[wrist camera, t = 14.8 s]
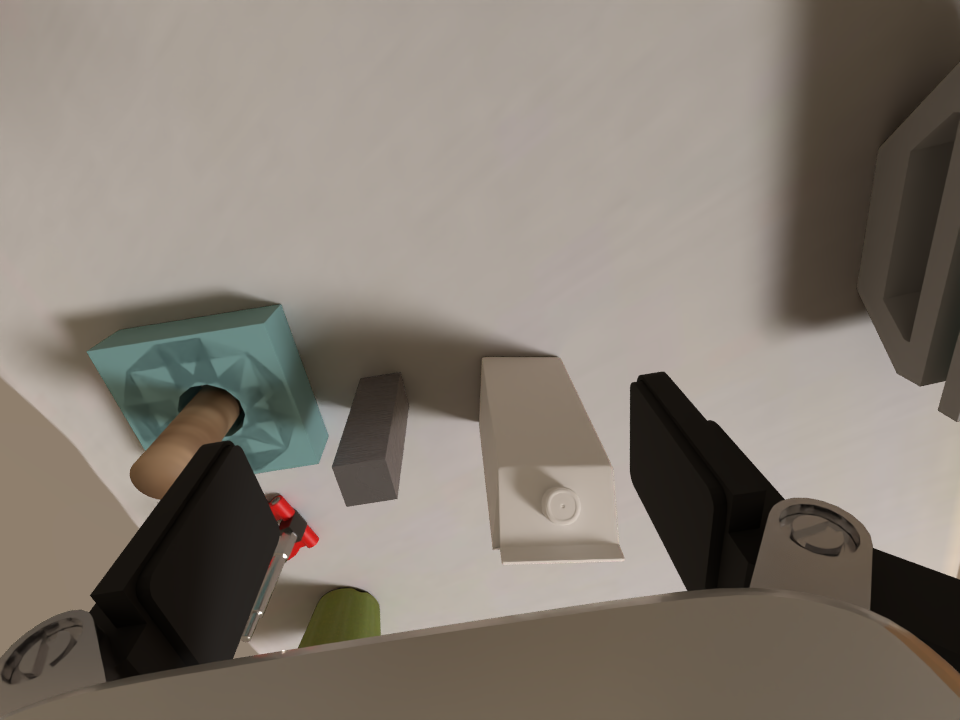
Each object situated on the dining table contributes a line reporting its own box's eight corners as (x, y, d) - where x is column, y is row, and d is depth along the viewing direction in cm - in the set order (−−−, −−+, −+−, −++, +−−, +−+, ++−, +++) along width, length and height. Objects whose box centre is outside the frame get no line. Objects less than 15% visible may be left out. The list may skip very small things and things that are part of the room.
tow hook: (255, 565, 53) (326, 539, 51) (195, 691, 41) (285, 664, 40) (204, 515, 49) (279, 486, 47) (124, 639, 38) (218, 606, 36)
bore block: (119, 329, 39) (86, 351, 35) (280, 304, 39) (264, 323, 35) (189, 458, 45) (167, 487, 41) (328, 436, 45) (318, 463, 41)
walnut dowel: (204, 372, 41) (119, 462, 30) (245, 365, 41) (174, 453, 30) (220, 406, 43) (145, 503, 32) (259, 400, 43) (198, 495, 32)
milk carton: (552, 422, 46) (614, 600, 29) (478, 422, 45) (498, 604, 28) (560, 356, 43) (636, 514, 26) (481, 355, 42) (506, 516, 25)
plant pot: (275, 608, 55) (238, 716, 45) (345, 557, 52) (322, 661, 42) (352, 650, 60) (333, 758, 50) (420, 606, 57) (415, 711, 47)
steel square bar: (360, 378, 42) (331, 466, 32) (400, 372, 42) (385, 458, 32) (370, 412, 44) (346, 506, 33) (409, 405, 44) (397, 498, 33)
